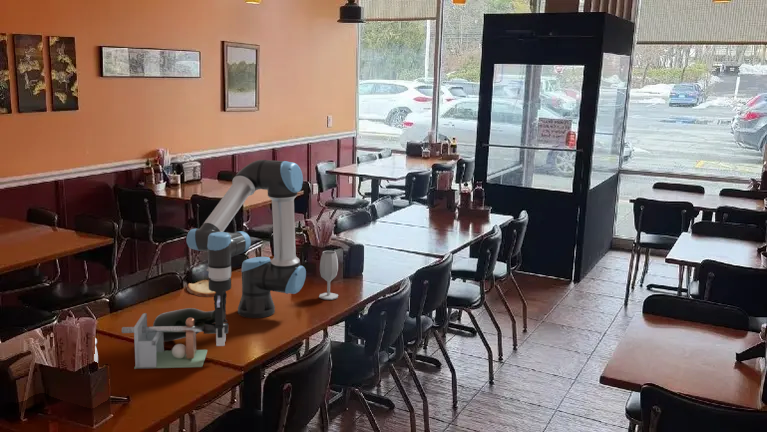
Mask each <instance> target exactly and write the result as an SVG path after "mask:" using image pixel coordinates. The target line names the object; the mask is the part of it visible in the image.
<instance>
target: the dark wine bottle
mask: <svg viewBox="0 0 767 432" xmlns="http://www.w3.org/2000/svg"><path fill="white" fill-rule="evenodd" d="M190 317H191V318H194V319H195V325H194V326H204V323H215V309H214V310H209V311H205V310H202V309H198V308H195V307H188V308H180V309H176V310H175V309H174V310H171V311H166V312H163V313H160V314H159V315H157V316H156V317H155V318H154V319H155V320H154V321H153V325H152V327H158V326H187V325H186V320H187V319H188V318H190ZM224 318H225V312H224ZM199 333H200V332H196V335H197V334H199ZM163 337H164V342H172V341H175V340H181V339H186V332H163Z"/></svg>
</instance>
